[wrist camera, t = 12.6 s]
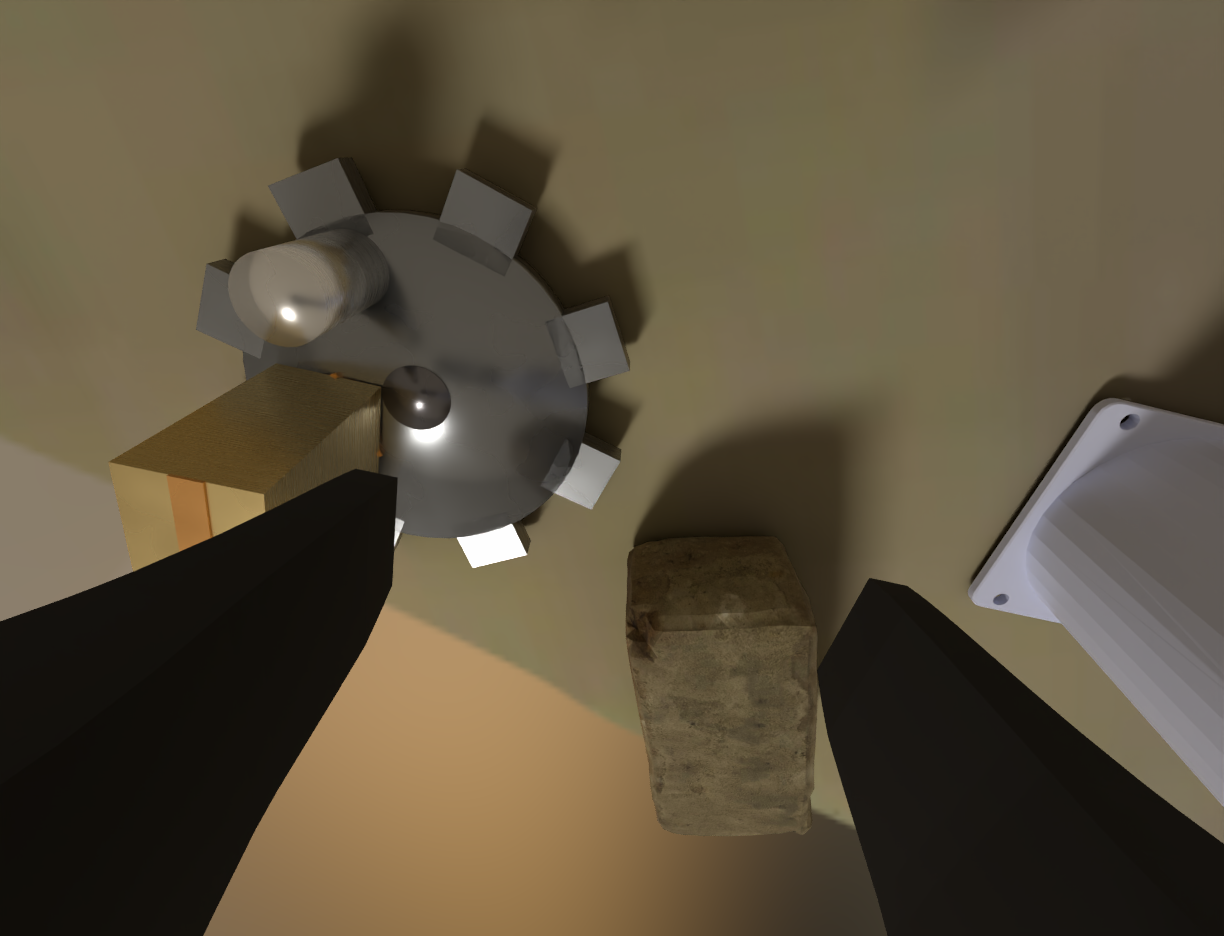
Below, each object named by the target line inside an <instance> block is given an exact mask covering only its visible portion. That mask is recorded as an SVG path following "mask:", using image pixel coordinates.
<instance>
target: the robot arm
mask: <svg viewBox="0 0 1224 936" xmlns="http://www.w3.org/2000/svg"><path fill="white" fill-rule="evenodd" d="M1129 414H1130V416H1129V418H1128V419H1127V420H1126V421H1125V422H1124V423H1121V424H1120V422H1121V420H1122V419H1123V418H1124V417H1125V416H1127V415H1129ZM397 484H398V477H393V476H388V475H383V474H379V473H374V472H369V471H365V470H360V469H354V470H351V471H349V472H347V473H344V474H342V475H340V476H338V477H336V478H334V479H332V480H329V481H327V482H325V483H323V484H321V485H319V486H317V487H315V488H313V489H311V490H309V491H307V492H305V493H303V494H301V495H299V496H297V497H295V498H293V499H291V500H289V501H287V502H285V503H283V504H281V505H279V506H277V507H275V508H273V509H271V510H269V511H267V512H264V513H262V514H260V515H258V516H256V517H254V518H252V519H250V520H248V521H246V522H244V523H242V524H240V525H237V526H235V527H233V528H231V529H229V530H227V531H225V532H223V533H221V534H219V535H216V536H214V537H212V538H209V539H207V540H205V541H202V542H200V543H198V544H196V545H193V546H191V547H189V548H186V549H184V550H182V551H180V552H177V553H175V554H173V555H170V556H168V557H166V558H163V559H161V560H159V561H157V562H154V563H152V564H150V565H147V566H145V567H143V568H140V569H138V570H136V571H134V572H131V573H129V574H127V575H124V576H122V577H119V578H116V579H114V580H112V581H109V582H106V583H104V584H102V585H99V586H96V587H94V588H91V589H88V590H86V591H83V592H81V593H78V594H75V595H73V596H70V597H68V598H65V599H62V600H59V601H56V602H54V603H51V604H48V605H45V606H42V607H40V608H37V609H34V610H31V611H28V612H26V613H23V614H20V615H17V616H14V617H12V618H9V619H6V620H3V621H0V936H203V935H204V933H205V931H206V929H207V927H208V925H209V922H210V920H211V918H212V916H213V914H214V912H215V910H216V908H217V906H218V904H219V902H220V900H221V898H222V896H223V894H224V892H225V890H226V888H227V886H228V884H229V882H230V880H231V878H232V876H233V873H234V872H235V870H236V868H237V866H238V864H239V862H240V860H241V857H242V856H243V853H244V852H245V850H246V848H247V846H248V843H249V841H250V839H251V837H252V835H253V833H254V831H255V829H256V828H257V826H258V824H259V822H260V821H261V819H262V817H263V815H264V813H265V812H266V810H267V808H268V806H269V804H270V803H271V801H272V799H273V797H274V796H275V794H276V792H277V790H278V789H279V787H280V785H281V784H282V782H283V780H284V779H285V777H286V776H287V774H288V772H289V770H290V769H291V767H292V766H293V764H294V762H295V761H296V759H297V757H298V756H299V754H300V753H301V751H302V749H303V748H304V746H305V744H306V743H307V741H308V739H309V738H310V736H311V734H312V733H313V731H314V730H315V728H316V726H317V725H318V723H319V721H320V720H321V718H322V716H323V715H324V713H325V711H326V710H327V708H328V707H329V705H330V703H331V702H332V700H333V698H334V697H335V695H336V693H337V692H338V690H339V688H340V687H341V685H342V683H343V682H344V680H345V678H346V677H347V675H348V673H349V672H350V670H351V668H352V667H353V665H354V663H355V662H356V660H357V658H358V657H359V655H360V653H361V652H362V650H363V648H364V646H365V645H366V643H367V640H368V638H369V636H370V634H371V632H372V629H373V627H374V625H375V623H376V621H377V618H378V616H379V614H380V612H381V610H382V607H383V605H384V603H385V600H386V598H387V596H388V594H389V591H390V589H391V587H392V578H393V559H394V540H395V522H396V503H397ZM999 594H1001V595H1000V596H998V597H996V596H997V595H999ZM968 596H969V597H970V598H971V600H972V601H973V602H974V603H975V604H976V605H978V606H981V607H986V608H991V609H995V610H1000V611H1005V612H1010V613H1014V614H1019V615H1024V616H1028V617H1033V618H1038V619H1043V620H1047V621H1052V622H1057V623H1061V624H1063V626H1064V627H1065V628H1066V629H1067V630H1068V631H1069V632H1070V634H1071V635H1072V636H1073V637H1074V638H1075V639H1076V640H1077V641H1078V643H1079V644H1080V645H1081V646H1082V647H1083V648H1084V649H1085V651H1086V652H1087V653H1088V654H1089V655H1090V656H1091V657H1092V658H1093V660H1094V661H1095V662H1096V663H1097V664H1098V665H1099V666H1100V667H1101V669H1102V670H1103V671H1104V672H1105V673H1106V674H1107V675H1108V677H1109V678H1110V679H1111V680H1112V681H1113V682H1114V683H1115V684H1116V686H1117V687H1118V688H1119V689H1120V690H1121V691H1122V692H1123V694H1124V695H1125V696H1126V697H1127V698H1128V699H1129V700H1130V701H1131V703H1132V704H1133V705H1134V706H1135V707H1136V708H1137V709H1138V710H1139V712H1140V713H1141V714H1142V715H1143V716H1144V717H1145V718H1146V720H1147V721H1148V722H1149V723H1150V724H1151V725H1152V726H1153V727H1154V729H1155V730H1156V731H1157V732H1158V733H1159V734H1160V735H1161V737H1162V738H1163V739H1164V740H1165V741H1166V742H1167V743H1168V744H1169V746H1170V747H1171V748H1172V749H1173V750H1174V751H1175V752H1176V753H1177V755H1178V756H1179V757H1180V758H1181V759H1182V760H1183V761H1184V763H1185V764H1186V765H1187V766H1188V767H1189V768H1190V769H1191V770H1192V772H1193V773H1194V774H1195V775H1196V776H1197V777H1198V778H1199V780H1200V781H1201V782H1202V783H1203V784H1204V785H1205V786H1206V787H1207V789H1208V790H1209V791H1210V792H1211V793H1212V794H1213V795H1214V796H1215V798H1216V799H1217V800H1218V801H1219V802H1220V803H1221V804H1222V806H1223V807H1224V424H1221V423H1217V422H1213V421H1208V420H1204V419H1200V418H1196V417H1192V416H1188V415H1184V414H1180V413H1175V412H1171V411H1167V410H1163V409H1159V408H1155V407H1151V406H1147V405H1142V404H1138V403H1134V402H1130V401H1126V400H1122V399H1118V398H1108V399H1104V400H1102V401H1100V402H1098V403H1097V404H1095V405H1094V407H1093V408H1092V409H1091V410H1090V411H1089V413H1088V414H1087V416H1086V417H1085V419H1084V420H1083V421H1082V423H1081V424H1080V426H1079V427H1078V429H1077V430H1076V432H1075V433H1074V435H1073V436H1072V438H1071V439H1070V441H1069V442H1068V443H1067V445H1066V446H1065V448H1064V449H1063V451H1062V452H1061V454H1060V455H1059V457H1058V458H1057V460H1056V461H1055V463H1054V464H1053V465H1052V467H1051V468H1050V470H1049V471H1048V473H1047V474H1046V476H1045V477H1044V479H1043V480H1042V482H1041V483H1040V485H1039V486H1038V487H1037V489H1036V490H1035V492H1034V493H1033V495H1032V496H1031V498H1030V499H1029V501H1028V502H1027V504H1026V505H1025V507H1024V508H1023V509H1022V511H1021V512H1020V514H1019V515H1018V517H1017V518H1016V520H1015V521H1014V523H1013V524H1012V526H1011V527H1010V529H1009V530H1008V531H1007V533H1006V534H1005V536H1004V537H1003V539H1002V540H1001V542H1000V543H999V545H998V546H997V548H996V549H995V551H994V552H993V553H992V555H991V556H990V558H989V559H988V561H987V562H986V564H985V565H984V567H983V568H982V570H981V571H980V573H979V574H978V575H977V577H976V578H975V580H974V581H973V583H972V584H971V586H970V587H969V590H968ZM817 673H818V680H819V687H820V694H821V701H822V707H823V712H824V718H825V723H826V729H827V734H828V738H829V741H830V745H831V748H832V752H833V755H834V758H835V762H836V765H837V768H838V772H839V775H840V778H841V782H842V785H843V788H844V792H845V795H846V798H847V801H848V804H849V808H850V811H851V814H852V817H853V821H854V824H855V827H856V830H857V833H858V836H859V840H860V843H861V846H862V850H863V853H864V856H865V859H866V862H867V866H868V869H869V872H870V875H871V879H872V882H873V885H874V888H875V892H876V894H877V898H878V902H879V906H880V909H881V913H882V917H883V920H884V924H885V928H886V931H887V935H888V936H1224V844H1223V843H1222V842H1220V841H1219V840H1218V839H1216V838H1215V837H1214V836H1212V835H1211V834H1210V833H1208V832H1207V831H1206V830H1204V829H1203V828H1201V827H1200V826H1199V825H1197V824H1196V823H1195V822H1193V821H1192V820H1191V819H1189V818H1188V817H1187V816H1185V815H1184V814H1183V813H1181V812H1180V811H1178V810H1177V809H1176V808H1175V807H1173V806H1172V805H1171V804H1169V803H1168V802H1167V801H1165V800H1164V799H1163V798H1162V797H1160V796H1159V795H1158V794H1156V793H1155V792H1154V791H1152V790H1151V789H1150V788H1149V787H1147V786H1146V785H1145V784H1144V783H1142V782H1141V781H1140V780H1138V779H1137V778H1136V777H1135V776H1134V775H1132V774H1131V773H1130V772H1129V771H1127V770H1126V769H1125V768H1124V767H1122V766H1121V765H1120V764H1119V763H1117V762H1116V761H1115V760H1114V759H1113V758H1111V757H1110V756H1109V755H1108V754H1106V753H1105V752H1104V751H1103V750H1101V749H1100V748H1099V747H1098V746H1097V745H1095V744H1094V743H1093V742H1092V741H1090V740H1089V739H1088V738H1087V737H1085V736H1084V735H1083V734H1082V733H1081V732H1079V731H1078V730H1077V729H1076V728H1075V727H1074V726H1072V725H1071V724H1070V723H1069V722H1068V721H1066V720H1065V719H1064V718H1063V717H1062V716H1060V715H1059V714H1058V713H1057V712H1056V711H1055V710H1053V709H1052V708H1051V707H1050V706H1049V705H1048V704H1046V703H1045V702H1044V701H1043V700H1042V699H1041V698H1039V697H1038V696H1037V695H1036V694H1035V693H1034V692H1032V691H1031V690H1030V689H1029V688H1028V687H1027V686H1026V685H1024V684H1023V683H1022V682H1021V681H1020V680H1019V679H1018V678H1016V677H1015V676H1014V675H1013V674H1012V673H1011V672H1009V671H1008V670H1007V669H1006V668H1005V667H1004V666H1003V665H1001V664H1000V663H999V662H998V661H997V660H996V659H995V658H994V657H992V656H991V655H990V654H989V653H988V652H987V651H986V650H984V649H983V648H982V647H981V646H980V645H979V644H978V643H976V642H975V641H974V640H973V639H972V638H971V637H970V636H968V635H967V634H966V633H965V632H964V631H963V630H961V629H960V628H959V627H958V626H957V625H956V624H954V623H953V622H952V621H951V620H950V619H949V618H947V617H946V616H945V615H944V614H943V613H941V612H940V611H939V610H938V609H937V608H935V607H934V606H933V605H932V604H931V603H929V602H928V601H927V600H925V599H924V598H923V597H922V596H920V595H919V594H918V593H916V592H915V591H913V590H912V589H911V588H909V587H908V586H905V585H900V584H895V583H891V582H886V581H881V580H877V579H872V578H869V580H868V581H867V583H866V585H865V587H864V588H863V590H862V592H861V594H860V595H859V597H858V599H857V601H856V603H855V604H854V606H853V608H852V610H851V611H850V613H849V615H848V617H847V618H846V620H845V622H844V624H843V625H842V627H841V629H840V631H839V632H838V634H837V636H836V638H835V640H834V641H833V643H832V645H831V647H830V648H829V650H828V652H827V654H826V655H825V657H824V659H823V661H822V662H821V664H820V666H819V668H818V670H817Z"/></svg>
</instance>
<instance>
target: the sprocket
mask: <svg viewBox="0 0 1224 936" xmlns="http://www.w3.org/2000/svg"><path fill="white" fill-rule="evenodd" d="M268 187H269V189H270V190H271V192H272V194H273V196H274V198H275V200H276V202H277V204H278V205H279V207H280V209H281V211H282V213H283V215H284V217H285V218H286V220H287V222H288V224H289V226H290V228H291V230H292V231H293V233H294V235H295V237H296V239H297V240H294V241H290V242H286V243H283V244H279V245H275V246H271V247H268V248H264V249H260V250H256V251H253V252H249V253H247V254H245V255H243V256H242V257H240V258H239V259H238V260H237V261H236V262H235V263H233V262H231V261H229V260H227V259H223V260H219V261H215V262H212V263H208V264H207V265H206V271H205V277H204V283H203V290H202V296H201V302H200V308H199V315H198V321H197V327H196V330H198V331H200V332H202V333H204V334H207V335H209V336H211V337H213V338H215V339H218V340H220V341H222V342H224V343H226V344H228V345H231V346H233V347H235V348H237V349H239V350H242V351H243V362H244V368H245V374H246V380H249V379H250V378H252V377H254V376H255V375H257V374H259V373H261V372H262V371H264V370H266V369H267V368H269V367H271V366H272V365H274V364H276V363H278V364H282V365H287V366H291V367H296V368H300V369H305V370H309V371H313V372H318V373H322V374H327V375H331V376H336V377H340V378H345V379H349V380H354V381H358V382H363V383H367V384H372V385H376V386H381V410H380V440H379V470H378V473H379V474H383V475H388V476H393V477H398V484H397V503H396V522H395V540H394V551H395V549H396V547H397V546H398V543H399V541H400V539H401V536H402V534H403V533H406V534H410V535H416V536H423V537H433V538H457V539H458V541H459V542H460V544H461V546H462V548H463V550H464V552H465V554H466V556H467V557H468V559H469V561H470V563H471V565H472V567H478V566H482V565H486V564H490V563H495V562H499V561H503V560H507V559H511V558H516V557H520V556H524V555H527V553H528V549H529V545H530V542H531V540H530V538H529V536H528V534H527V532H526V529H525V527H524V525H523V523H522V521H521V519H522V518H524V517H526V516H527V515H529V514H530V513H532V512H533V511H535V510H536V509H537V508H539V507H540V506H541V505H542V504H543V503H544V502H546V501H547V500H548V499H549V498H550V497H551V496H552V495H553V494H554V493H556V494H558V495H560V496H562V497H565V498H567V499H569V500H571V501H573V502H576V503H578V504H580V505H582V506H584V507H587V508H589V509H592V508H593V506H594V504H595V503H596V501H597V499H598V498H599V496H600V494H601V493H602V491H603V489H604V488H605V486H606V484H607V483H608V481H609V479H610V478H611V476H612V474H613V473H614V471H615V469H616V468H617V466H618V464H619V463H620V459H621V449H619V448H617V447H615V446H613V445H611V444H609V443H607V442H605V441H603V440H601V439H599V438H596V437H594V436H592V435H590V434H588V433H586V432H585V428H586V423H587V416H588V409H589V382H593V381H596V380H599V379H603V378H606V377H610V376H613V375H617V374H620V373H624V372H627V371H630V360H629V357H628V353H627V350H626V347H625V344H624V341H623V338H622V334H621V331H620V328H619V325H618V322H617V319H616V315H615V312H614V309H613V306H612V303H611V299H610V296H609V295H608V296H605V297H602V298H599V299H595V300H592V301H589V302H586V303H583V304H580V305H576V306H573V307H570V308H567V309H564V307H563V305H562V303H561V302H560V300H559V299H558V297H557V296H556V295H555V293H554V292H553V291H552V289H551V288H550V287H549V285H548V284H547V283H546V281H545V280H544V279H543V278H542V277H541V276H540V275H539V274H538V273H537V272H536V271H535V270H534V269H533V268H532V267H531V266H530V265H529V264H528V263H527V262H526V261H525V260H524V259H522V258H521V257H520V256H519V255H518V253H519V251H520V248H521V246H522V244H523V241H524V239H525V236H526V234H527V231H528V229H529V227H530V224H531V222H532V219H533V217H534V215H535V212H536V210H537V208H536V207H535V206H533V205H531V204H529V203H527V202H526V201H524V200H522V199H520V198H518V197H517V196H515V195H513V194H511V193H509V192H507V191H506V190H504V189H502V188H500V187H498V186H497V185H495V184H493V183H491V182H489V181H488V180H486V179H484V178H482V177H480V176H478V175H477V174H475V173H473V172H471V171H469V170H468V169H466V168H464V169H457V170H456V173H455V176H454V179H453V182H452V185H451V188H450V191H449V194H448V197H447V200H446V202H445V205H444V208H443V211H442V214H441V216H440V215H437V214H431V213H425V212H419V211H413V210H382V211H377V210H376V208H375V206H374V204H373V202H372V199H371V197H370V195H369V193H368V191H367V189H366V187H365V184H364V182H363V180H362V178H361V176H360V174H359V172H358V169H357V167H356V165H355V163H354V161H353V159H352V158H336V159H334V160H331V161H329V162H326V163H324V164H321V165H319V166H316V167H314V168H311V169H309V170H306V171H304V172H301V173H299V174H296V175H294V176H291V177H289V178H286V179H284V180H281V181H279V182H276V183H274V184H271V185H269V186H268Z"/></svg>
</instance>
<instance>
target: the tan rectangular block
mask: <svg viewBox="0 0 1224 936" xmlns="http://www.w3.org/2000/svg"><path fill="white" fill-rule="evenodd" d="M380 410H381V386H376V385H372V384H367V383H363V382H358V381H354V380H349V379H345V378H340V377H336V376H331V375H327V374H322V373H318V372H313V371H309V370H305V369H300V368H296V367H291V366H287V365H282V364H278V363H276V364H274V365H272V366H271V367H269V368H267V369H266V370H264V371H262V372H261V373H259V374H257V375H255V376H254V377H252V378H250V379H249V380H247V381H245V382H244V383H242V384H240V385H239V386H237V387H235V388H233V389H232V390H230V391H228V392H227V393H225V394H223V395H222V396H220V397H218V398H216V399H215V400H213V401H211V402H210V403H208V404H206V405H205V406H203V407H201V408H199V409H198V410H196V411H194V412H193V413H191V414H189V415H188V416H186V417H184V418H183V419H181V420H179V421H177V422H176V423H174V424H172V425H171V426H169V427H167V428H166V429H164V430H162V431H160V432H159V433H157V434H155V435H154V436H152V437H150V438H149V439H147V440H145V441H143V442H142V443H140V444H138V445H137V446H135V447H133V448H132V449H130V450H128V451H127V452H125V453H123V454H121V455H120V456H118V457H116V458H115V459H113V460H111V461H110V462H109V467H110V471H111V475H112V480H113V484H114V489H115V493H116V498H117V502H118V507H119V511H120V515H121V520H122V524H123V528H124V533H125V538H126V542H127V546H128V551H129V555H130V559H131V564H132V569H133V572H134V571H136V570H138V569H140V568H143V567H145V566H147V565H150V564H152V563H154V562H157V561H159V560H161V559H163V558H166V557H168V556H170V555H173V554H175V553H177V552H180V551H182V550H184V549H186V548H189V547H191V546H193V545H196V544H198V543H200V542H202V541H205V540H207V539H209V538H212V537H214V536H216V535H219V534H221V533H223V532H225V531H227V530H229V529H231V528H233V527H235V526H237V525H240V524H242V523H244V522H246V521H248V520H250V519H252V518H254V517H256V516H258V515H260V514H262V513H264V512H267V511H269V510H271V509H273V508H275V507H277V506H279V505H281V504H283V503H285V502H287V501H289V500H291V499H293V498H295V497H297V496H299V495H301V494H303V493H305V492H307V491H309V490H311V489H313V488H315V487H317V486H319V485H321V484H323V483H325V482H327V481H329V480H332V479H334V478H336V477H338V476H340V475H342V474H344V473H347V472H349V471H351V470H354V469H360V470H365V471H369V472H374V473H378V470H379V440H380Z"/></svg>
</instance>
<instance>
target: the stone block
mask: <svg viewBox="0 0 1224 936" xmlns="http://www.w3.org/2000/svg"><path fill="white" fill-rule="evenodd" d="M627 568H628V577H627V604H626V641H627V649H628V656H629V662H630V668H631V673H632V678H633V683H634V689H635V695H636V701H637V706H638V711H639V716H640V721H641V726H642V731H643V735H644V740H645V747H646V752H647V757H648V762H649V773H650V785H651V792H652V798H653V801H654V804H655V809H656V814H657V820H658V822H659V823H660V824H661V826H662V828H663V829H664V830H667V831H670V832H672V833H676V834H683V835H699V836H710V835H711V836H712V835H715V836H716V835H717V836H738V835H760V834H776V833H785V832H788V831H793V832H795V833H799V834H801V835H803V834H804V833H805V832H806V831H807V830H809V829H810V827H811V825H812V812H811V800H810V796H811V794H812V792H813V790H814V756H815V742H816V722H817V641H818V635H817V627H816V623H815V619H814V615H813V611H812V608H811V604H810V601H809V598H808V596H807V594H806V592H805V590H804V589H803V587H802V585H801V584H800V582H799V580H798V577H797V574H796V572H795V570H794V568H793V566H792V564H791V562H790V560H789V558H788V556H787V553H786V550H785V548H784V545H783V544H782V543H781V542H780V541H779V540H778V539H777V538H776V537H773V536H745V537H734V536H732V537H683V538H670V539H663V540H660V541H648V542H646V543H644V544H641V545H638V546H635V547H634V549H633V550H632V551H630V552H629V555H628V560H627Z"/></svg>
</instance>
